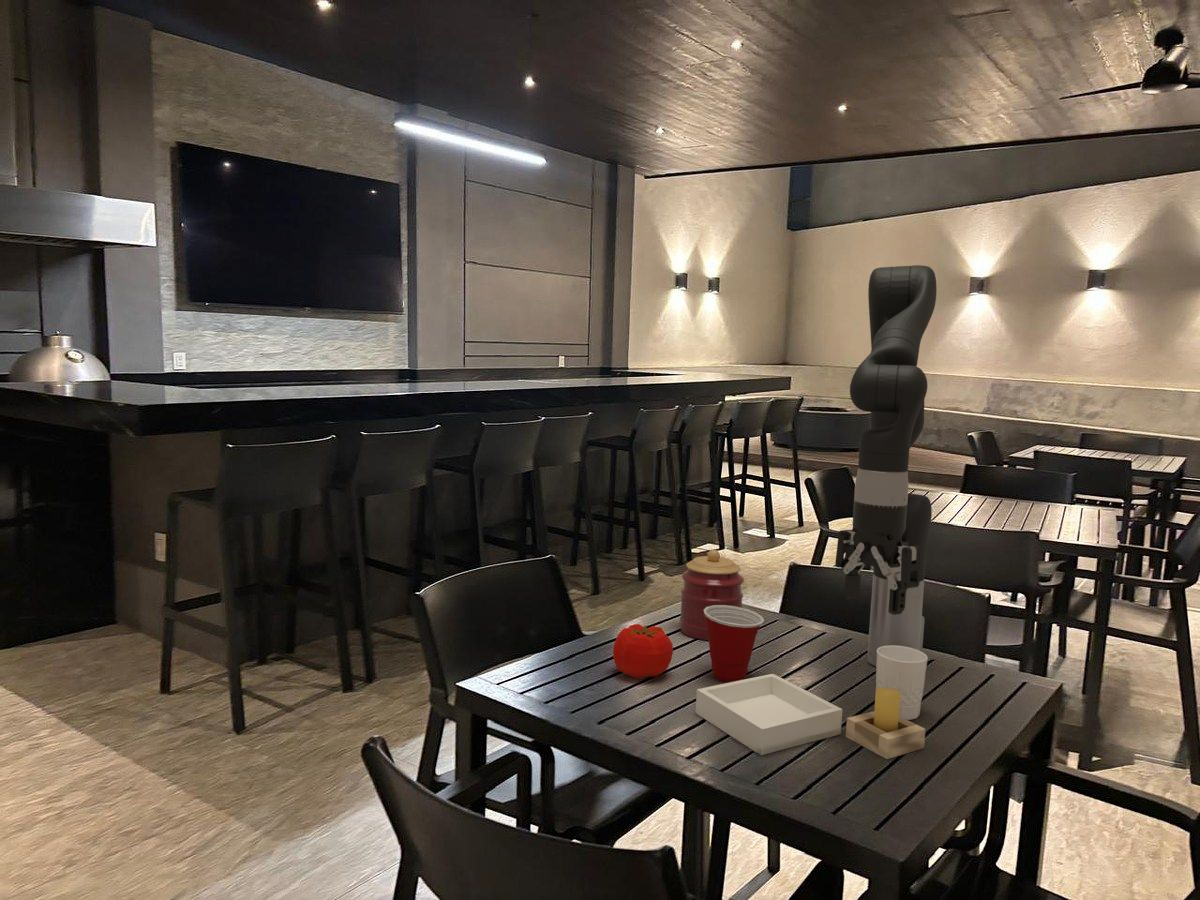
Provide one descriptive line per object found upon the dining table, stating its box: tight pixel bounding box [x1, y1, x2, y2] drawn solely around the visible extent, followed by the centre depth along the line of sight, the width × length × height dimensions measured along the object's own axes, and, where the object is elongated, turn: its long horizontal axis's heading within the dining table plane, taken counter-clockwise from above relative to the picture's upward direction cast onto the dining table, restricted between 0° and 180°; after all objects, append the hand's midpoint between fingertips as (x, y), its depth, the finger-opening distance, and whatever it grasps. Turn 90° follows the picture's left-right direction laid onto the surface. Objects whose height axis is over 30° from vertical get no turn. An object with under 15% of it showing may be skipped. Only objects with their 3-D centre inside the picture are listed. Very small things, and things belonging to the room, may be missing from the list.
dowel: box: [873, 687, 900, 733], centre depth 125 cm, size 4×4×8 cm
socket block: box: [845, 710, 926, 760], centre depth 126 cm, size 8×8×3 cm
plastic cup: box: [704, 605, 765, 683], centre depth 149 cm, size 11×11×12 cm
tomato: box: [612, 623, 674, 679], centre depth 150 cm, size 11×11×9 cm
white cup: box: [875, 645, 929, 721], centre depth 137 cm, size 8×8×10 cm
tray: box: [695, 673, 843, 756], centre depth 131 cm, size 16×16×4 cm
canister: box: [679, 549, 745, 641], centre depth 174 cm, size 13×13×18 cm
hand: (873, 605), depth 125 cm, fingers open, 8 cm apart
